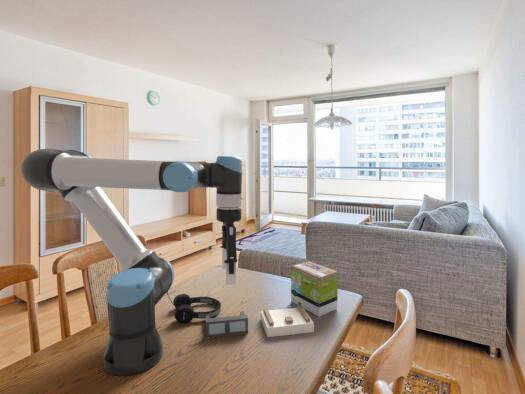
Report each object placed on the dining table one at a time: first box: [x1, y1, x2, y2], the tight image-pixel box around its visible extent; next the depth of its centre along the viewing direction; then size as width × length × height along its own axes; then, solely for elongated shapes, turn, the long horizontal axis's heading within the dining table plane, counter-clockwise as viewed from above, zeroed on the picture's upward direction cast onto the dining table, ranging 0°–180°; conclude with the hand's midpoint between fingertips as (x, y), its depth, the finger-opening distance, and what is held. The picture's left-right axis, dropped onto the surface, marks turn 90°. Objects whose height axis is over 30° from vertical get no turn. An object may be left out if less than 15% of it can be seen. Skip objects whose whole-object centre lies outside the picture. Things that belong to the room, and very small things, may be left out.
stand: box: [260, 304, 315, 338], centre depth 101 cm, size 11×15×4 cm
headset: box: [166, 292, 222, 324], centre depth 110 cm, size 14×10×20 cm
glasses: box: [205, 310, 249, 339], centre depth 100 cm, size 11×13×5 cm
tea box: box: [290, 260, 339, 318], centre depth 114 cm, size 15×10×15 cm
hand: (228, 275), depth 95 cm, fingers open, 13 cm apart
